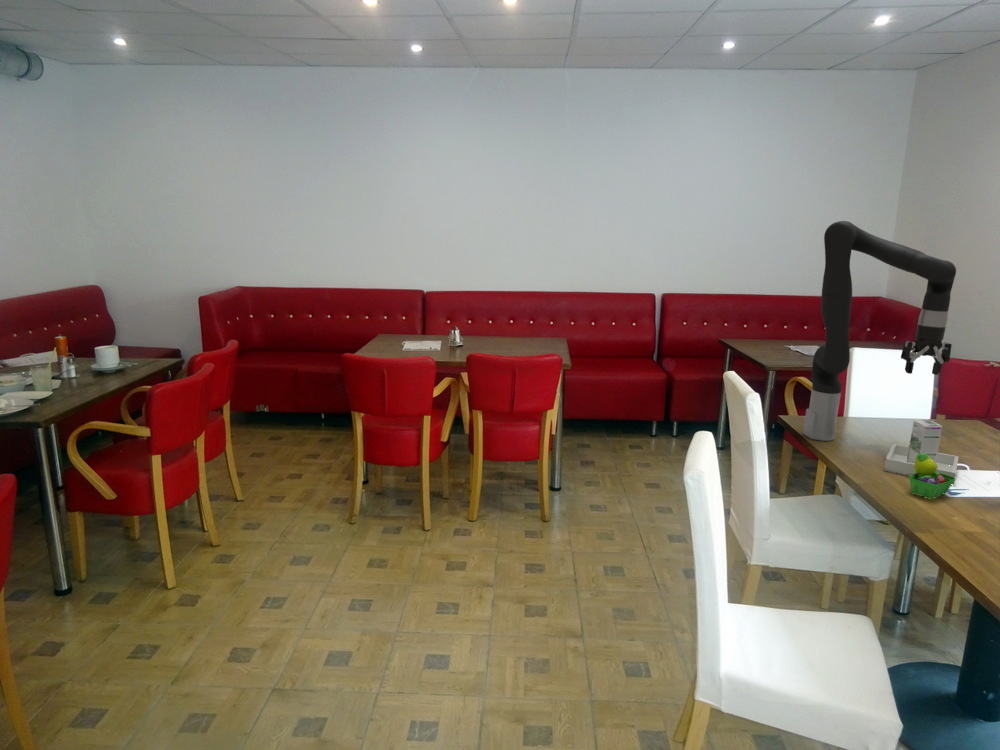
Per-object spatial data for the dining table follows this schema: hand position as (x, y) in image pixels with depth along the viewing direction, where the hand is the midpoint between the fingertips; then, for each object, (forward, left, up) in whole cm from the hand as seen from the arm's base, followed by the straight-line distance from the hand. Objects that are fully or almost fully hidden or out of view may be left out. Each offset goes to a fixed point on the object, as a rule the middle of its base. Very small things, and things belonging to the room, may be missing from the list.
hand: (921, 373), depth 210 cm
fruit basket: (-14, -31, -28) cm, 44 cm away
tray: (-4, -13, -28) cm, 31 cm away
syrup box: (-4, -13, -27) cm, 30 cm away
